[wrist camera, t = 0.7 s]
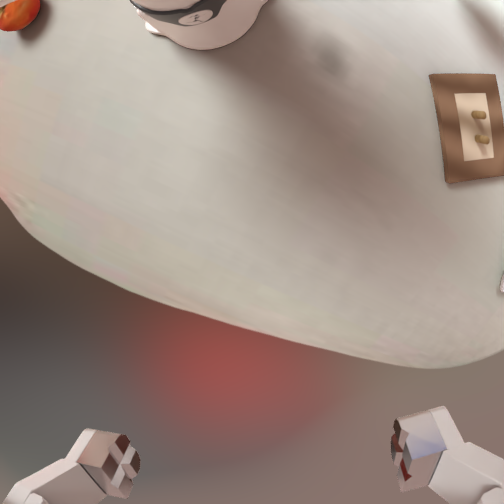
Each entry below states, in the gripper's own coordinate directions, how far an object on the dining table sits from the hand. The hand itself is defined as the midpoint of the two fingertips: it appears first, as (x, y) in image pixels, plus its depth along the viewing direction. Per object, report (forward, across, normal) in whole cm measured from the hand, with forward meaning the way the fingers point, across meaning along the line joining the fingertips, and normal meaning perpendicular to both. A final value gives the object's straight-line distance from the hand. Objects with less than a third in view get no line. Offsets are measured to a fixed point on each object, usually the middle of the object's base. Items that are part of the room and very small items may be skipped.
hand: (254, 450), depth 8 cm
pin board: (+37, -32, -10) cm, 50 cm away
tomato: (+36, +37, -48) cm, 70 cm away
